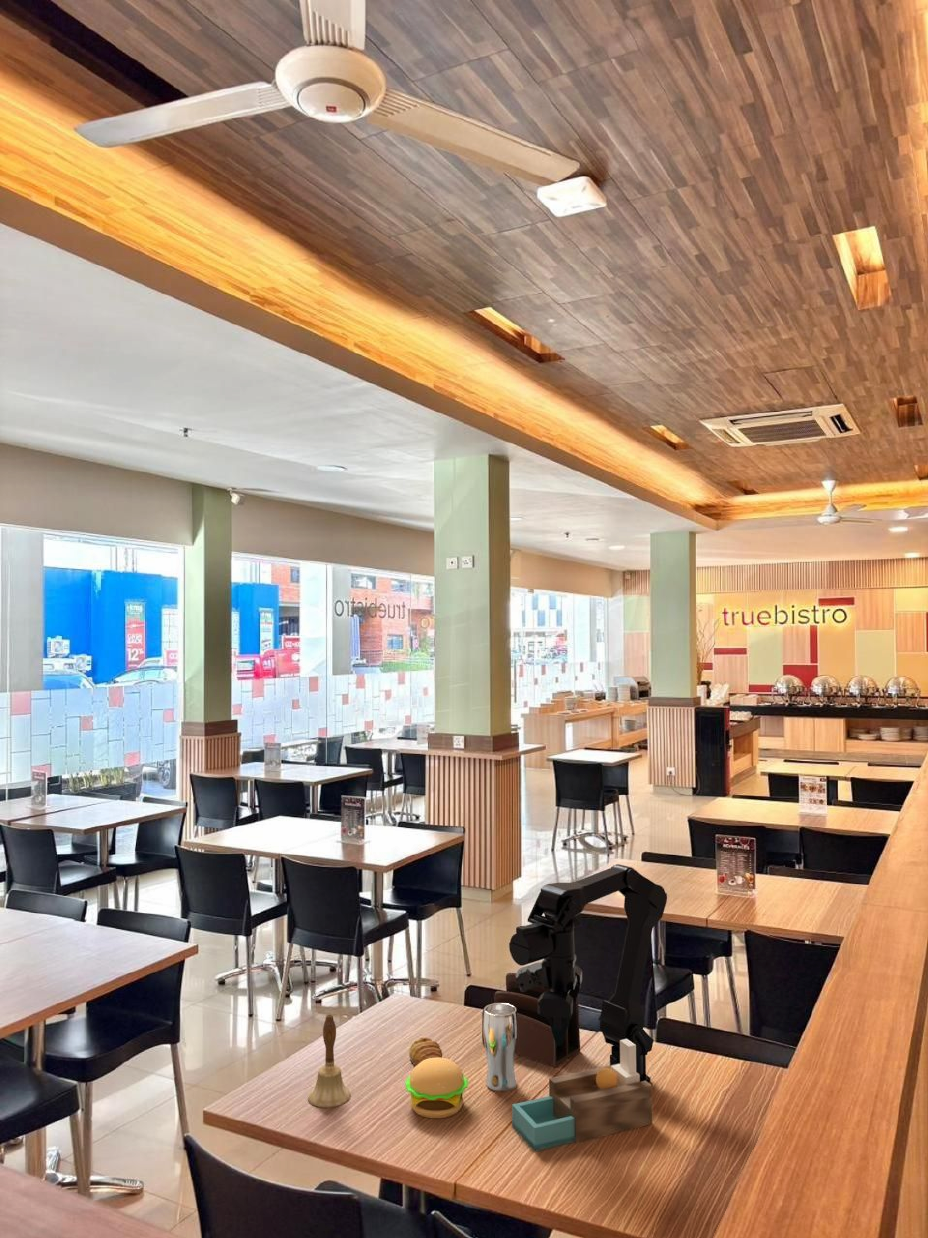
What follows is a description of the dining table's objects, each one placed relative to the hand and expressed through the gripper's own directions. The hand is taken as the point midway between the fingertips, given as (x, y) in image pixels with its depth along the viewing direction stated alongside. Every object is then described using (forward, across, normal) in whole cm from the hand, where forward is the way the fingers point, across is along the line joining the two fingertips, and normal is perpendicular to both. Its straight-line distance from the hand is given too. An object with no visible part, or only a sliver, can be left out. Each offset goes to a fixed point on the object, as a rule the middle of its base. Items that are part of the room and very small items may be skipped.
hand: (562, 1034), depth 174 cm
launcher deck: (+14, +4, +7) cm, 16 cm away
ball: (+7, +3, +9) cm, 11 cm away
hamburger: (+13, +6, -24) cm, 28 cm away
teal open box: (+13, +11, -2) cm, 18 cm away
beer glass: (+14, -5, -14) cm, 20 cm away
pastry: (+14, -12, -31) cm, 36 cm away
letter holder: (+14, -24, -11) cm, 30 cm away
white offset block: (+9, +1, +12) cm, 15 cm away
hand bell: (+13, +7, -45) cm, 48 cm away
